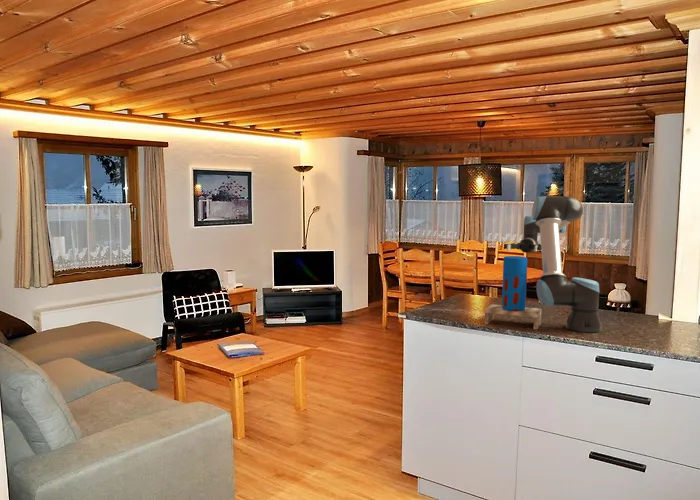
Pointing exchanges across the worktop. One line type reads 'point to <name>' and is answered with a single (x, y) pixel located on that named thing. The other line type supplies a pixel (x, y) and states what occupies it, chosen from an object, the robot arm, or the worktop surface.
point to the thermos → (514, 283)
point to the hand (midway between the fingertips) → (521, 248)
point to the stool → (513, 313)
